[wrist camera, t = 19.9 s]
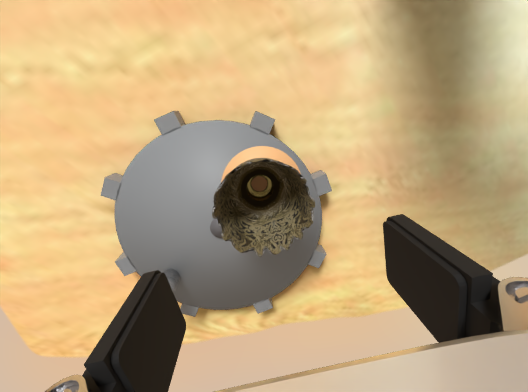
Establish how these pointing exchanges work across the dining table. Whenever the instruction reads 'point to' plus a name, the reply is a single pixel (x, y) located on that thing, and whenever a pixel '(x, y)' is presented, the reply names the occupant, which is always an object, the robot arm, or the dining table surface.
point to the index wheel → (205, 214)
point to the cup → (263, 207)
